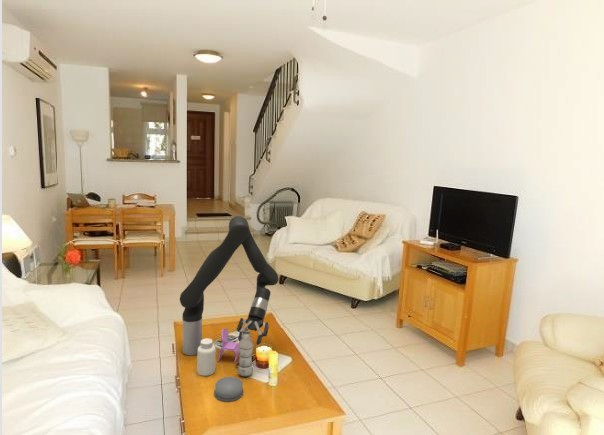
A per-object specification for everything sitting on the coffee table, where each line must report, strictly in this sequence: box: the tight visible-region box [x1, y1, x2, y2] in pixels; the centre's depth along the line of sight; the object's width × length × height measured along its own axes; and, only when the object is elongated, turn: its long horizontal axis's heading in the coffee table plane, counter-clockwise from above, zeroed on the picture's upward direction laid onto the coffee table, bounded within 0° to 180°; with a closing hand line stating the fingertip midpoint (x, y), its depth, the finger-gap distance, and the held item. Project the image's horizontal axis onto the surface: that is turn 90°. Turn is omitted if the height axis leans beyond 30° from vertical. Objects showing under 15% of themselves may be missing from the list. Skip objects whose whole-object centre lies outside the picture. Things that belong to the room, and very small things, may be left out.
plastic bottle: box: [237, 331, 254, 378], centre depth 185 cm, size 6×7×20 cm
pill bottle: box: [196, 337, 217, 377], centre depth 187 cm, size 8×8×15 cm
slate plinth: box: [213, 376, 244, 403], centre depth 172 cm, size 12×12×4 cm
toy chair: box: [217, 328, 239, 364], centre depth 198 cm, size 8×9×15 cm
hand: (248, 342), depth 187 cm, fingers open, 8 cm apart
